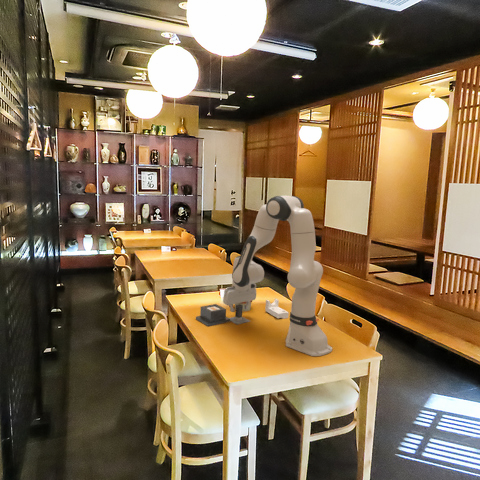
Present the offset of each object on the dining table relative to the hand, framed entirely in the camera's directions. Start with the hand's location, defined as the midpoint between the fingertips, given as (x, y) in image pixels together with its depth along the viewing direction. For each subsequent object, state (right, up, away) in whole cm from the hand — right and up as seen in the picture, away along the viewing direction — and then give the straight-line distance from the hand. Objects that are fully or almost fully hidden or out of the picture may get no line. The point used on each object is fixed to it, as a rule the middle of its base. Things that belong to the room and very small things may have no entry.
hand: (239, 310), depth 207 cm
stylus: (0, -5, +1) cm, 5 cm away
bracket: (+21, -6, +13) cm, 26 cm away
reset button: (-14, -4, -1) cm, 15 cm away
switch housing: (-14, -5, -1) cm, 15 cm away
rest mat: (0, -6, +1) cm, 6 cm away
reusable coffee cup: (+2, -3, +20) cm, 21 cm away
